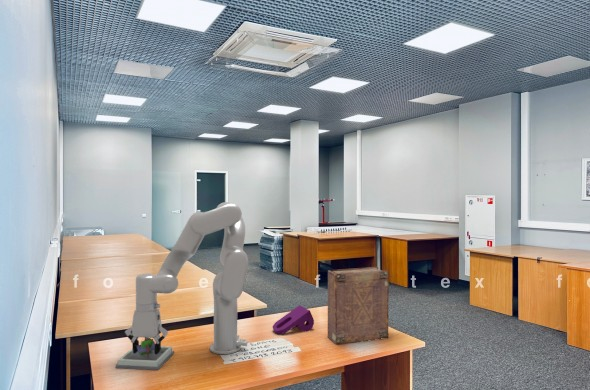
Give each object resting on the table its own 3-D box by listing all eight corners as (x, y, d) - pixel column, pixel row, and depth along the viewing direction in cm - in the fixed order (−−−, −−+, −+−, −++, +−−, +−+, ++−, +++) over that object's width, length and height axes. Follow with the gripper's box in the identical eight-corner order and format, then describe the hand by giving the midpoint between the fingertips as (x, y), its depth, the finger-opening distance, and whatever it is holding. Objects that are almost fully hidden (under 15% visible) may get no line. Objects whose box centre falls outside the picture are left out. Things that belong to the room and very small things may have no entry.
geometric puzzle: (159, 352, 152) (156, 332, 156) (140, 356, 148) (137, 335, 152) (155, 358, 157) (152, 338, 161) (136, 363, 153) (134, 342, 157)
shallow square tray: (174, 353, 161) (174, 346, 161) (157, 370, 146) (157, 362, 146) (135, 351, 163) (135, 344, 163) (115, 368, 148) (115, 360, 148)
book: (377, 331, 188) (378, 266, 187) (388, 338, 179) (389, 270, 178) (327, 337, 180) (327, 270, 179) (335, 345, 171) (336, 274, 170)
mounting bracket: (285, 348, 182) (316, 325, 190) (278, 333, 180) (309, 310, 188) (276, 341, 190) (305, 319, 198) (269, 326, 188) (299, 305, 196)
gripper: (172, 304, 157) (172, 349, 157) (129, 303, 159) (129, 347, 159) (164, 310, 149) (164, 357, 150) (119, 309, 151) (119, 355, 151)
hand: (146, 352), depth 154 cm, fingers closed on geometric puzzle, 7 cm apart
